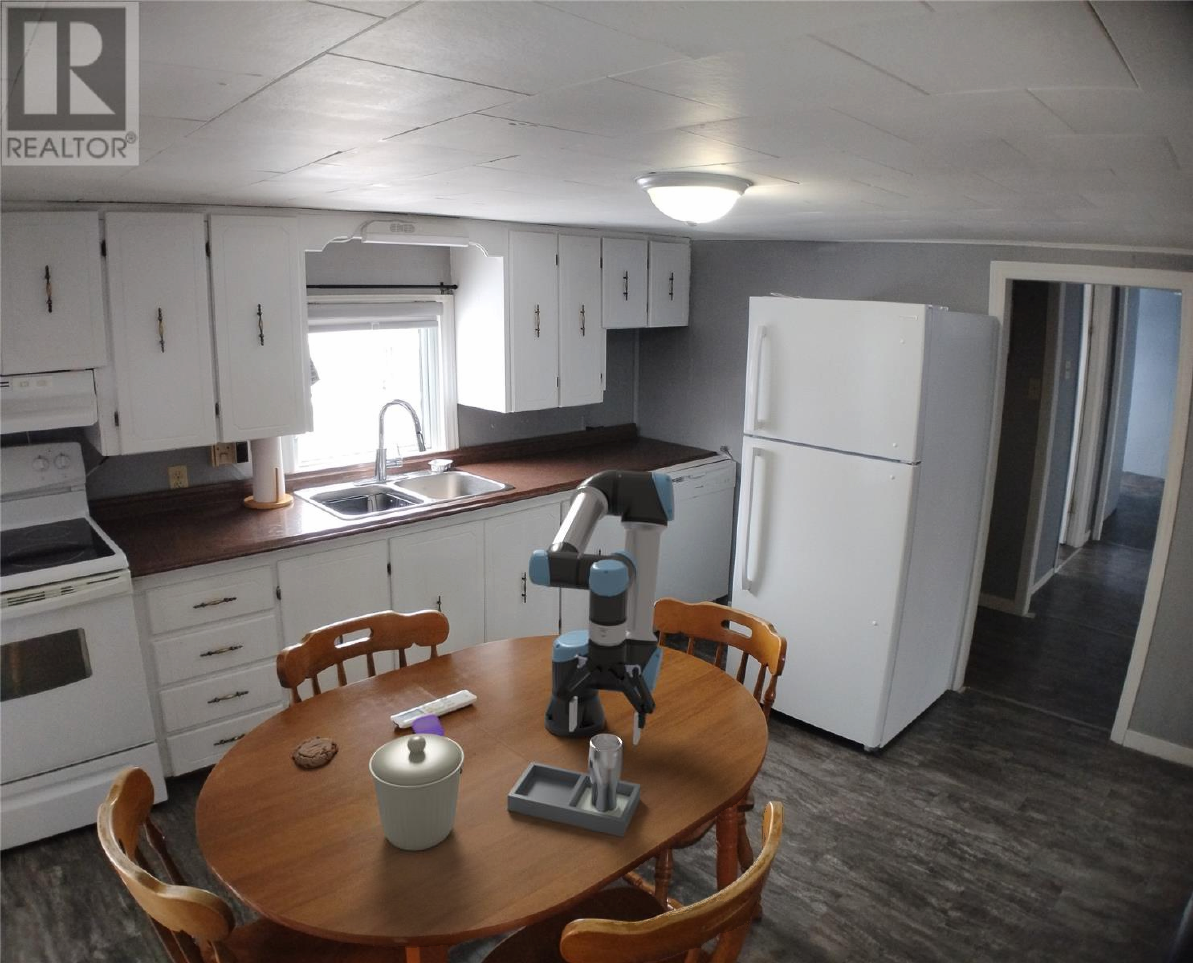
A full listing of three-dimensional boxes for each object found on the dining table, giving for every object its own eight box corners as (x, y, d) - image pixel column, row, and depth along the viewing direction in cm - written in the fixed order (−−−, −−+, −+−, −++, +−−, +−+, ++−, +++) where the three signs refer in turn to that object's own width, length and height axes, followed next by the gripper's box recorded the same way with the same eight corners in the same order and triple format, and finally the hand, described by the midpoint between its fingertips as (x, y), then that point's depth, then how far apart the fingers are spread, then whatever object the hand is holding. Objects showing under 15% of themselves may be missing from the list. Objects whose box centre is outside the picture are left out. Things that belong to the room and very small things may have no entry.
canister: (416, 794, 172) (413, 704, 167) (483, 823, 163) (483, 730, 158) (352, 842, 157) (346, 745, 152) (422, 877, 148) (419, 775, 143)
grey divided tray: (507, 809, 167) (507, 795, 167) (531, 775, 179) (531, 761, 179) (623, 837, 160) (623, 821, 159) (640, 799, 172) (640, 784, 171)
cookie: (295, 773, 178) (294, 761, 178) (291, 748, 188) (290, 737, 187) (342, 762, 183) (341, 751, 182) (335, 739, 192) (334, 728, 191)
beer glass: (596, 820, 163) (598, 754, 159) (581, 801, 169) (583, 736, 166) (626, 811, 166) (629, 746, 162) (611, 792, 172) (613, 729, 169)
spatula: (472, 771, 181) (471, 761, 180) (443, 779, 178) (442, 769, 177) (435, 721, 201) (435, 712, 200) (409, 728, 198) (409, 719, 197)
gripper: (541, 636, 159) (540, 732, 164) (664, 656, 152) (659, 756, 157) (554, 621, 166) (553, 714, 171) (673, 640, 159) (668, 736, 164)
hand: (604, 734), depth 164 cm, fingers open, 13 cm apart
